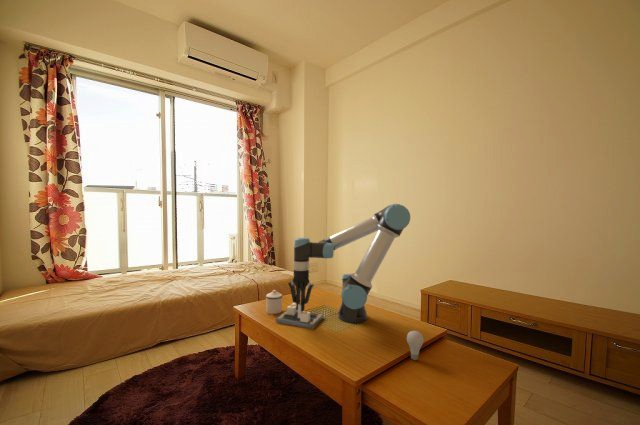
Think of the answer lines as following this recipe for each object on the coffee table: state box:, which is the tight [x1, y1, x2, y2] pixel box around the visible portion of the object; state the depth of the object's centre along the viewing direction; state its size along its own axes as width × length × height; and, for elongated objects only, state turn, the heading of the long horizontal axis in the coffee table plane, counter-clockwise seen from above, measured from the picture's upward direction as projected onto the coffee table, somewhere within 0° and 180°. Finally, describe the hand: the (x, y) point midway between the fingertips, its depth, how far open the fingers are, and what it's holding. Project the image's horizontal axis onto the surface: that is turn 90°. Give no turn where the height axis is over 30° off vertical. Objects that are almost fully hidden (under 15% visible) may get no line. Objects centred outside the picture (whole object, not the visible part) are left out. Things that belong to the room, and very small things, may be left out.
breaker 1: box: [286, 305, 296, 316], centre depth 144 cm, size 4×3×4 cm
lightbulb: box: [406, 330, 425, 361], centre depth 106 cm, size 6×6×11 cm
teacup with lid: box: [265, 289, 283, 315], centre depth 155 cm, size 12×9×12 cm
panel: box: [275, 310, 324, 330], centre depth 143 cm, size 20×15×3 cm
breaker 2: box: [300, 310, 311, 323], centre depth 136 cm, size 4×3×4 cm
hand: (300, 317), depth 137 cm, fingers closed
